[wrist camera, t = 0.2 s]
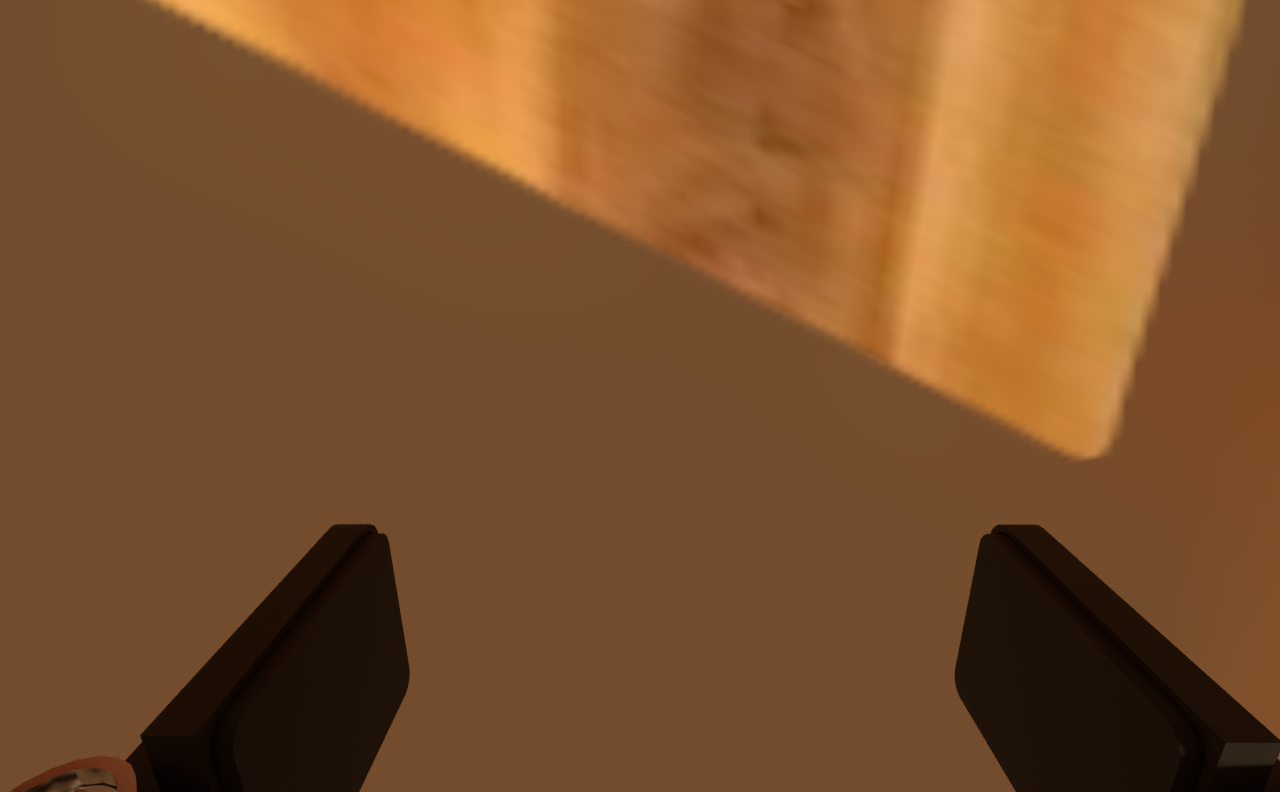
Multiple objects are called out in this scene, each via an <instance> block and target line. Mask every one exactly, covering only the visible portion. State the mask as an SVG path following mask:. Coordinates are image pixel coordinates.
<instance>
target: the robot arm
mask: <svg viewBox="0 0 1280 792" xmlns="http://www.w3.org/2000/svg"><path fill="white" fill-rule="evenodd" d="M409 674H410V671H409V663H408V657H407V650H406V644H405V638H404V632H403V626H402V620H401V614H400V608H399V601H398V595H397V589H396V583H395V577H394V571H393V565H392V558H391V552H390V546H389V541H388V538H387V536H386V535H385V534H378V531H377V530H376V528H375V526H373V525H371V524H338V525H333V526H332V527H331V528H330V529H329V530H328V531H327V532H326V533H325V534H324V535H323V536H322V537H321V538H320V539H319V541H318V542H317V543H316V544H315V545H314V546H313V547H312V548H311V549H310V550H309V552H308V553H307V554H306V555H305V556H304V557H303V558H302V559H301V560H300V561H299V562H298V564H297V565H296V566H295V567H294V568H293V569H292V570H291V571H290V572H289V573H288V575H287V576H286V577H285V578H284V579H283V580H282V581H281V582H280V583H279V584H278V585H277V587H276V588H275V589H274V590H273V591H272V592H271V593H270V594H269V595H268V596H267V597H266V599H265V600H264V601H263V602H262V603H261V604H260V605H259V606H258V607H257V608H256V609H255V611H254V612H253V613H252V614H251V615H250V616H249V617H248V618H247V619H246V620H245V621H244V623H243V624H242V625H241V626H240V627H239V628H238V629H237V630H236V631H235V632H234V633H233V635H232V636H231V637H230V638H229V639H228V640H227V641H226V642H225V643H224V644H223V646H221V648H220V649H219V650H218V651H217V652H216V653H215V654H214V655H213V656H212V657H211V659H210V660H209V661H208V662H207V663H206V664H205V665H204V666H203V667H202V668H201V670H200V671H199V672H198V673H197V674H196V675H195V676H194V677H193V678H192V679H191V680H190V682H189V683H188V684H187V685H186V686H185V687H184V688H183V689H182V690H181V691H180V692H179V693H178V695H177V696H176V697H175V698H174V699H173V700H172V701H171V702H170V703H169V704H168V705H167V707H166V708H165V709H164V710H163V711H162V712H161V713H160V714H159V715H158V716H157V718H156V719H155V720H154V721H153V722H152V723H151V724H150V725H149V726H148V727H147V729H145V731H144V732H143V733H142V734H141V739H142V743H141V744H140V745H139V746H138V747H137V748H136V749H135V751H134V752H133V753H132V754H131V755H130V756H129V757H128V758H127V759H126V760H125V761H124V760H122V759H121V758H119V757H109V756H96V757H89V758H83V759H78V760H74V761H72V762H69V763H66V764H63V765H60V766H57V767H54V768H51V769H49V770H47V771H45V772H43V773H41V774H39V775H37V776H35V777H33V778H31V779H29V780H28V781H25V782H24V783H22V784H20V785H19V786H17V787H16V788H14V789H13V790H11V791H10V792H359V791H360V789H361V787H362V785H363V783H364V781H365V778H366V776H367V774H368V772H369V770H370V768H371V766H372V764H373V761H374V759H375V757H376V755H377V753H378V751H379V749H380V747H381V745H382V743H383V741H384V738H385V736H386V734H387V732H388V730H389V728H390V726H391V724H392V722H393V719H394V717H395V715H396V713H397V711H398V709H399V707H400V705H401V702H402V701H403V698H404V696H405V694H406V691H407V688H408V683H409ZM955 683H956V688H957V691H958V694H959V696H960V698H961V700H962V701H963V703H964V705H965V707H966V708H967V710H968V712H969V713H970V715H971V717H972V718H973V720H974V722H975V723H976V725H977V727H978V729H979V730H980V732H981V733H982V735H983V737H984V738H985V740H986V742H987V744H988V745H989V747H990V749H991V750H992V752H993V754H994V756H995V757H996V759H997V761H998V762H999V764H1000V766H1001V767H1002V769H1003V771H1004V772H1005V774H1006V776H1007V777H1008V779H1009V781H1010V782H1011V784H1012V786H1013V788H1014V789H1015V791H1016V792H1280V761H1279V760H1278V759H1277V757H1278V755H1279V752H1280V740H1279V739H1278V738H1277V737H1276V736H1275V735H1274V734H1273V733H1272V732H1270V731H1269V730H1268V729H1267V728H1266V727H1265V726H1264V725H1263V724H1261V723H1260V722H1259V721H1258V720H1257V719H1256V718H1255V717H1254V716H1252V715H1251V714H1250V713H1249V712H1248V711H1247V710H1246V709H1245V708H1244V707H1242V706H1241V705H1240V704H1239V703H1238V702H1237V701H1236V700H1235V699H1234V698H1232V697H1231V696H1230V695H1229V694H1228V693H1227V692H1226V691H1225V690H1223V689H1222V688H1221V687H1220V686H1219V685H1218V684H1217V683H1216V682H1215V681H1213V680H1212V679H1211V678H1210V677H1209V676H1207V674H1206V673H1204V672H1203V671H1202V670H1201V669H1200V668H1199V667H1198V666H1197V665H1195V664H1194V663H1193V662H1192V661H1191V660H1190V659H1189V658H1188V657H1186V655H1184V654H1183V653H1182V652H1181V651H1180V650H1179V649H1178V648H1177V647H1175V646H1174V645H1173V644H1172V643H1171V642H1170V641H1169V640H1168V639H1166V638H1165V637H1164V636H1163V635H1162V634H1161V633H1160V632H1159V631H1157V630H1156V629H1155V628H1154V627H1153V626H1152V625H1151V624H1150V623H1149V622H1148V621H1146V620H1145V619H1144V618H1143V617H1142V616H1141V615H1139V614H1138V613H1137V612H1136V611H1135V610H1134V609H1133V608H1132V607H1131V606H1130V605H1129V604H1127V603H1126V602H1125V601H1124V600H1123V599H1122V598H1121V597H1119V596H1118V595H1117V594H1116V593H1115V592H1114V591H1113V590H1111V588H1110V587H1108V586H1107V585H1106V584H1105V583H1104V582H1103V581H1102V580H1101V579H1099V578H1098V577H1097V576H1096V575H1095V574H1094V573H1093V572H1092V571H1090V570H1089V569H1088V568H1087V567H1086V566H1085V565H1084V564H1082V563H1081V562H1080V561H1079V560H1078V559H1077V558H1076V557H1075V556H1073V554H1071V553H1070V552H1069V551H1068V550H1067V549H1066V548H1065V547H1064V546H1063V545H1061V544H1060V543H1059V542H1058V541H1057V540H1056V539H1055V538H1054V537H1053V536H1051V535H1050V534H1049V533H1048V532H1047V531H1046V530H1045V529H1044V528H1042V527H1040V526H1039V525H997V526H995V527H994V528H993V529H992V531H991V534H986V535H984V536H983V537H982V538H981V541H980V544H979V549H978V555H977V560H976V565H975V570H974V575H973V580H972V586H971V590H970V596H969V601H968V606H967V611H966V616H965V621H964V626H963V632H962V637H961V642H960V647H959V652H958V658H957V662H956V668H955Z"/></svg>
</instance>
